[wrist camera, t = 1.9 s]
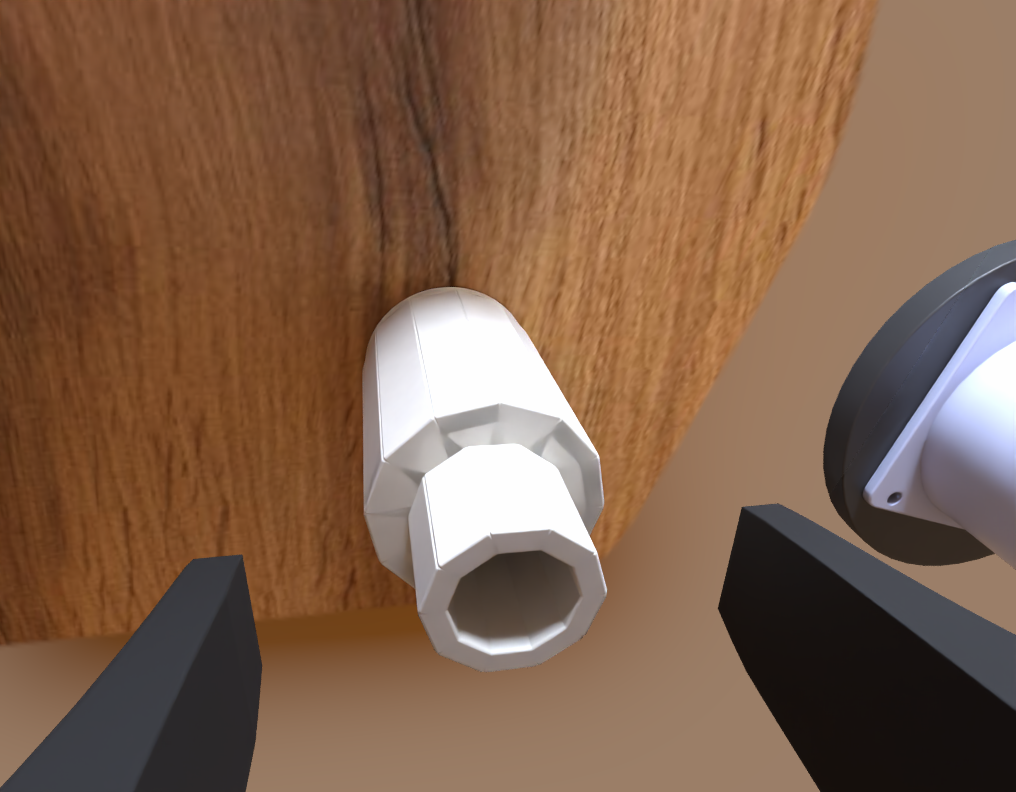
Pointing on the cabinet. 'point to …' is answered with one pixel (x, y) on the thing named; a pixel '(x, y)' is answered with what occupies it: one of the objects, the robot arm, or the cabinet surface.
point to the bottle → (479, 482)
